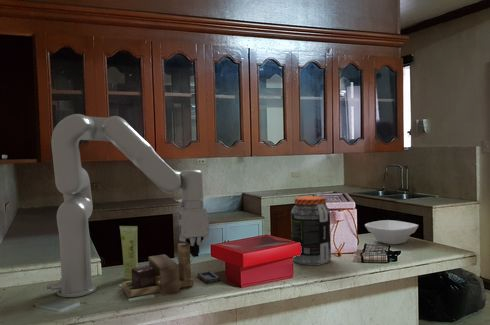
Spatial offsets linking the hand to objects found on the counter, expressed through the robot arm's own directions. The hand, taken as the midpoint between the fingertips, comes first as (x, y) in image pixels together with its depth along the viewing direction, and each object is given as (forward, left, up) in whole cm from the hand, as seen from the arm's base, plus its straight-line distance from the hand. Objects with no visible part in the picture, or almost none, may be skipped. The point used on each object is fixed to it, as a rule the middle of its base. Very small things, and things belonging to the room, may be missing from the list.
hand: (194, 255), depth 151 cm
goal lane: (-21, 0, -9) cm, 23 cm away
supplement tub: (+49, -1, -9) cm, 50 cm away
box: (-18, +1, -9) cm, 20 cm away
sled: (-14, 0, -9) cm, 16 cm away
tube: (-20, +16, -9) cm, 27 cm away
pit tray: (+5, 0, -9) cm, 10 cm away
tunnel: (-12, 0, -9) cm, 15 cm away
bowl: (+98, +4, -9) cm, 99 cm away
